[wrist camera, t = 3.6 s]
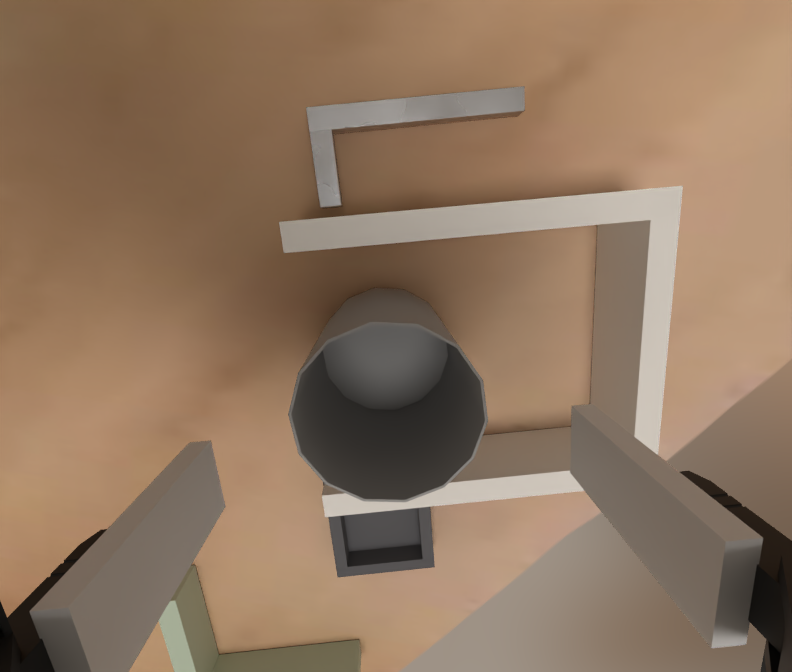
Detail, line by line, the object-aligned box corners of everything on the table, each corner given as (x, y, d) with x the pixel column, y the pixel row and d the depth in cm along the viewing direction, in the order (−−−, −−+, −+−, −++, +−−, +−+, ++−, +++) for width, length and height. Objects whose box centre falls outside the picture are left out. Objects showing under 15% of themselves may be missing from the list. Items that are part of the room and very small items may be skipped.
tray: (340, 555, 30) (337, 577, 28) (326, 463, 28) (322, 480, 26) (431, 545, 30) (434, 567, 28) (423, 453, 28) (427, 469, 26)
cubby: (334, 468, 28) (325, 517, 24) (299, 224, 24) (278, 221, 19) (608, 441, 29) (655, 483, 24) (622, 195, 24) (682, 185, 20)
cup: (381, 260, 25) (381, 277, 15) (473, 343, 26) (527, 406, 17) (297, 356, 26) (249, 429, 17) (390, 429, 28) (395, 534, 18)
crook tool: (323, 208, 24) (320, 207, 23) (309, 113, 23) (306, 107, 21) (518, 188, 24) (525, 186, 23) (516, 93, 23) (524, 86, 22)
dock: (204, 670, 33) (187, 713, 30) (175, 567, 30) (153, 602, 27) (361, 653, 33) (359, 694, 30) (346, 549, 30) (342, 582, 27)
